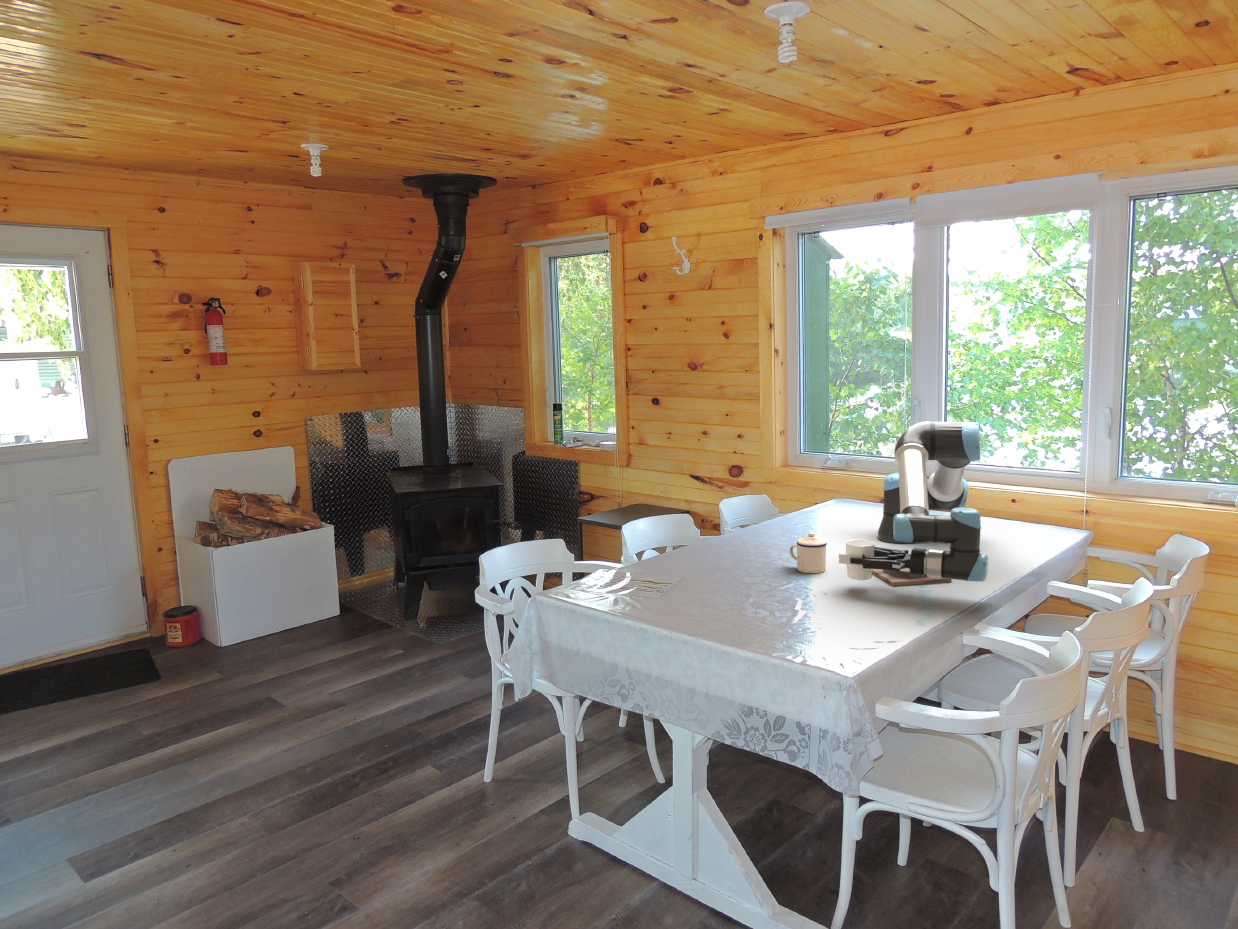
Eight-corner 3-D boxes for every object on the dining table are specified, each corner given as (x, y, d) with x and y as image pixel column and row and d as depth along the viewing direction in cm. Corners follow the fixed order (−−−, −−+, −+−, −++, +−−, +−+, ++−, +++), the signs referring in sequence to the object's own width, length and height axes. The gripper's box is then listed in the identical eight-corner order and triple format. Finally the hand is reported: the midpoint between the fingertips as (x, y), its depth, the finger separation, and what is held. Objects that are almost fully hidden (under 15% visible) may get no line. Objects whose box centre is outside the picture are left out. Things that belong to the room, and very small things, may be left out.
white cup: (841, 573, 256) (841, 540, 255) (868, 572, 257) (868, 538, 255) (850, 581, 248) (851, 546, 247) (878, 580, 249) (878, 545, 248)
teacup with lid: (831, 569, 274) (832, 532, 273) (817, 575, 267) (817, 537, 266) (797, 563, 282) (797, 527, 280) (782, 569, 275) (782, 532, 273)
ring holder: (866, 570, 272) (866, 560, 272) (921, 566, 275) (921, 556, 274) (892, 586, 255) (892, 576, 254) (951, 582, 257) (951, 572, 257)
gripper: (919, 586, 235) (833, 576, 246) (931, 566, 253) (850, 558, 264) (920, 558, 234) (833, 550, 244) (932, 540, 252) (851, 533, 262)
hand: (842, 554), depth 254 cm, fingers closed on white cup, 8 cm apart
